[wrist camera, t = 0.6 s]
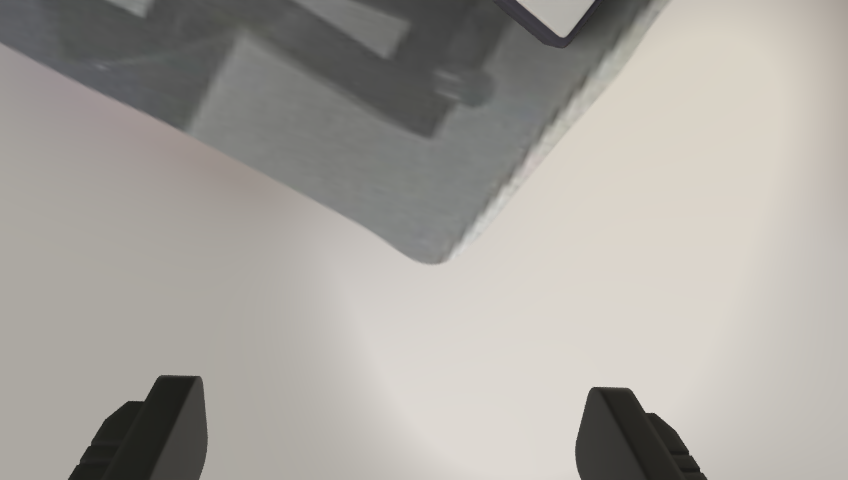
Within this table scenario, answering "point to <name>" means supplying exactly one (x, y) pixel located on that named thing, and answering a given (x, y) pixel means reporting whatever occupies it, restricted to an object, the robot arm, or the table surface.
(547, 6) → the calculator
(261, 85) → the table surface
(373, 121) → the table surface
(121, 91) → the table surface
